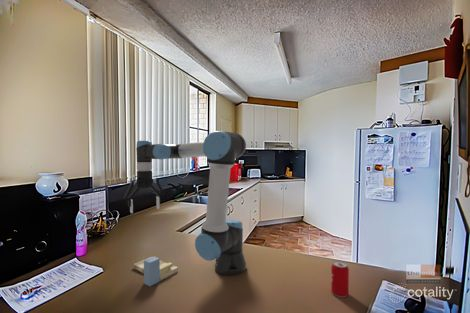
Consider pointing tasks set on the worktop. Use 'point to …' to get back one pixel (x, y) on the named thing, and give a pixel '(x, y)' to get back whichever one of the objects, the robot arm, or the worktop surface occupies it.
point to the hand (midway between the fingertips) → (145, 210)
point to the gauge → (154, 270)
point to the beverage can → (340, 279)
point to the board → (164, 274)
